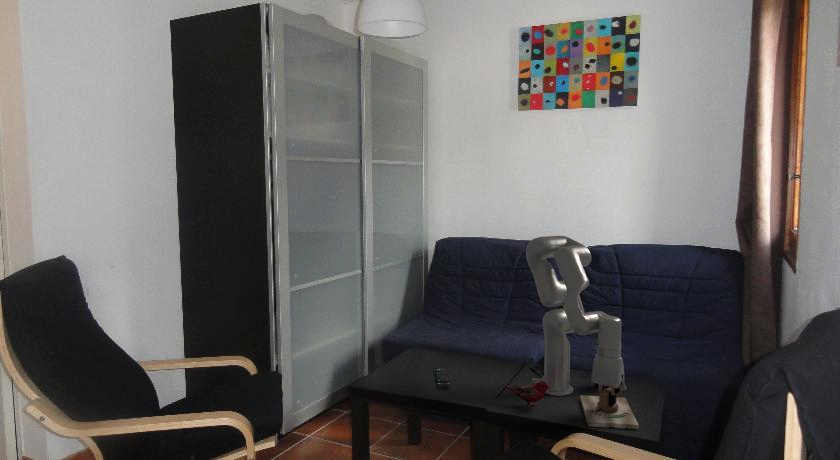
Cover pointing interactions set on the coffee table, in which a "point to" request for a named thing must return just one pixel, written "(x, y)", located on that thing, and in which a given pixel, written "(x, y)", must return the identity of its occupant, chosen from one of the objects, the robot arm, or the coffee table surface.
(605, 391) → the knob
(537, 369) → the phone
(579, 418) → the coffee table surface
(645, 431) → the coffee table surface
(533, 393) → the decorative bird figurine
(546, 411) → the coffee table surface
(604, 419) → the dial board
